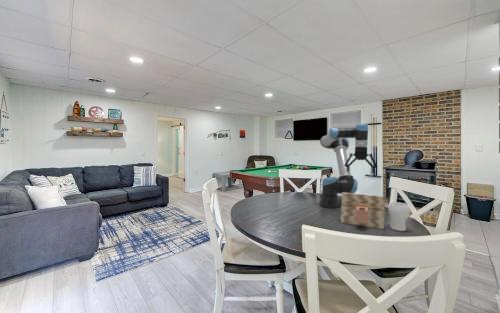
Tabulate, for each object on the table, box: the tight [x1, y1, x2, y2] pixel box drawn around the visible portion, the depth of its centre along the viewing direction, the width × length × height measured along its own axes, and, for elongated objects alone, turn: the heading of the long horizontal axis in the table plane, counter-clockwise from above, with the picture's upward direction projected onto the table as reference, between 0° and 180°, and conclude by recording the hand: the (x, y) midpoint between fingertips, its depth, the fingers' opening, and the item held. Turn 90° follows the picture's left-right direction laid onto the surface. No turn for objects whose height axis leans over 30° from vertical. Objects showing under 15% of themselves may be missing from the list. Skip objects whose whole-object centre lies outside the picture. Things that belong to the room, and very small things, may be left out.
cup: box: [387, 201, 411, 232], centre depth 129 cm, size 11×11×15 cm
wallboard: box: [340, 192, 386, 230], centre depth 136 cm, size 24×5×19 cm, turn 62°
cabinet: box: [356, 203, 368, 224], centre depth 132 cm, size 6×10×9 cm, turn 152°
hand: (360, 177), depth 148 cm, fingers open, 13 cm apart
